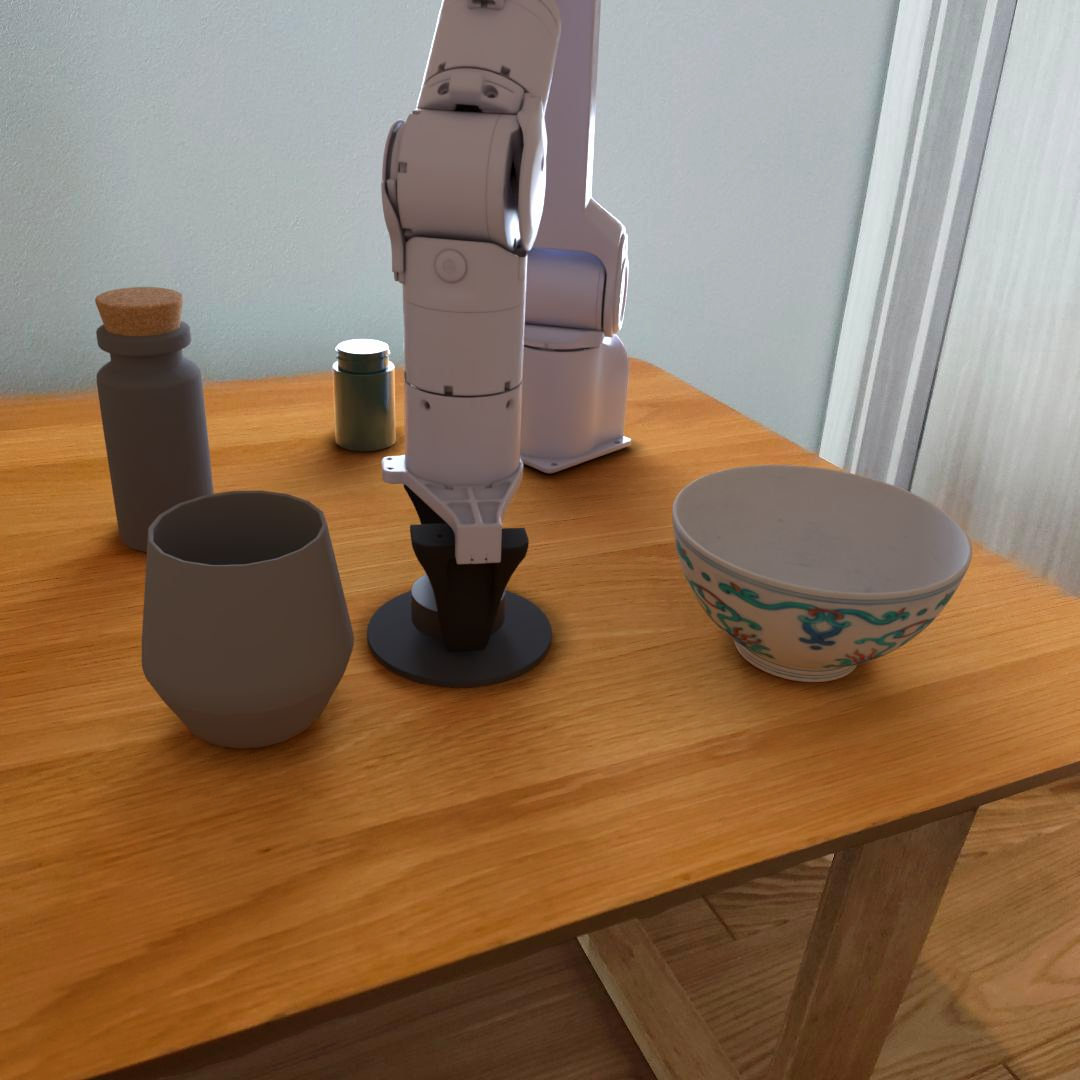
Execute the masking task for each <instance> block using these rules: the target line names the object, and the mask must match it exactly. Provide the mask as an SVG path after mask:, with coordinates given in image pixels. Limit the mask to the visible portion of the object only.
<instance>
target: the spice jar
mask: <svg viewBox="0 0 1080 1080" xmlns="http://www.w3.org/2000/svg"><path fill="white" fill-rule="evenodd" d="M389 348H390V347H389V344H387V343H386V342H383V341H381V340H378V339H369V338H357V339H349V340H345V341H341V342H340V343H337V345H336V347H334V349H335V353H336V359H337V360H336V361H335V362H334V363H333V364H332V366H331V370H332V371H331V372H332V391H333V392H332V393H333V417H334V437H335V438H334V439H335V443H336V444H337V445H338V446H339V447H340V448H343V449H344V450H345V449H346V450H349V451H354V452H376V451H382V450H386V449H387V448H390V447H391V446H393V445H394V444H395V443H396V439H397V438H396V437H397V436H396V393H395V392H396V385H395V384H396V383H395V382H396V381H395V380H396V379H395V378H396V377H395V375H396V374H395V364H394V363H393V362H392V361H390V355H391V351H390V349H389Z"/></svg>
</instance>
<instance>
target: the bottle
mask: <svg viewBox="0 0 1080 1080" xmlns="http://www.w3.org/2000/svg"><path fill="white" fill-rule="evenodd" d="M94 299H95V300H94V302H95V305H96V307H97V310H98V311H97V312H98V313H99V317H100V319H101V322H102V324H101V325H100V326H98V328H96V331H95V332H96V341H97V346H98V348H99V349H100V350H101V351H104V352H105V353H107V354H109V357H110V361H108V362H107V363H105V364H103V365H102V367H101V368H100V369H99V370H98V372H97V373H96V386H97V387H96V388H97V394H98V402H99V409H100V417H101V424H102V430H103V437H104V438H103V439H104V444H105V449H106V450H105V451H106V456H107V463H108V471H109V477H110V483H111V489H112V497H113V503H114V509H115V516H116V523H117V529H118V532H119V533H118V534H119V538H120V542H122V543H123V544H124V546H126V547H128V548H130V549H131V550H134V551H138V552H142V553H147V541H148V528H149V527H150V525H151V524H152V523H153V522H154V521H155V519H156V518H157V517H158V516H159V515H160V514H162V513H163V512H165V511H167V510H169V509H170V508H172V507H174V506H175V505H177V504H179V503H182V502H185V501H188V500H191V499H195V498H198V497H201V496H204V495H210V494H215V493H214V483H213V474H212V472H213V471H212V463H211V454H210V443H209V433H208V424H207V414H206V413H207V412H206V404H205V403H206V402H205V395H204V385H203V379H202V372H201V368H200V367H199V366H198V365H197V364H196V362H194V361H193V360H191V359H189V358H187V357H185V356H184V353H183V349H185V348H187V347H189V346H190V345H191V342H192V333H191V327H190V325H189V324H188V323H187V322H186V321H183V320H182V314H183V313H182V312H183V305H184V295H183V294H182V293H181V292H180V291H177V290H175V289H171V288H165V287H155V286H135V287H133V286H132V287H123V288H117V289H111V290H107V291H105V292H102V293H99V294H98V295H96V297H95V298H94Z"/></svg>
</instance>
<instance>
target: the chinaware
mask: <svg viewBox="0 0 1080 1080" xmlns="http://www.w3.org/2000/svg"><path fill="white" fill-rule="evenodd" d="M672 529H673V534H674V542H675V547H676V552H677V557H678V560H679V564H680V566H681V569H682V572H683V575H684V578H685V580H686V582H687V584H688V587H689V588H690V591H691V593H692V594H693V596H694V598H695V600H696V601H697V602H698V604H699V606H700V607H701V608H702V610H703V611H704V612H705V614H706V615H707V616H708V617H709V618H710V619H711V621H712V622H713V623H714V624H715V625H716V626H717V627H718V628H719V629H720V630H721V631H723V632H724V633H725V634H726V635H728V637H729V638H731V639H732V640H733V641H734V645H735V648H736V649H737V651H738V653H739V654H740V656H742V658H744V660H746V661H747V662H748V663H750V664H751V665H752V666H754V667H755V668H757V669H759V670H761V671H763V672H765V673H767V674H769V675H772V676H774V677H778V678H781V679H785V680H788V681H789V680H790V681H795V682H801V683H802V682H803V683H822V682H823V683H824V682H830V681H835V680H838V679H841V678H844V677H846V676H848V675H849V674H850V673H852V672H854V670H855V669H856V668H857V666H858V665H862V664H865V663H869V662H871V661H874V660H877V659H879V658H882V657H885V656H887V655H888V654H891V653H893V652H895V651H896V650H898V649H900V648H901V647H903V646H905V645H907V644H908V643H909V642H911V641H912V640H913V639H915V638H916V637H918V636H919V635H920V634H921V633H922V632H923V631H924V630H926V628H928V627H929V626H930V625H931V624H932V623H933V622H934V620H935V619H936V618H937V617H938V616H939V615H940V613H941V612H942V611H943V610H944V609H945V608H946V607H947V605H948V603H949V602H950V601H951V599H952V598H953V597H954V595H955V593H956V591H957V589H959V587H960V584H961V582H962V581H963V579H964V577H965V575H966V573H967V570H968V569H969V567H970V564H971V561H972V557H973V546H972V542H971V540H970V537H969V535H968V533H967V532H966V530H965V529H964V528H963V527H962V525H961V524H960V523H959V522H958V521H957V519H955V518H954V517H953V516H952V515H950V514H949V513H947V512H946V511H945V510H943V509H942V508H941V507H940V506H938V505H936V504H934V503H933V502H931V501H929V500H927V499H926V498H923V497H922V496H920V495H917V494H916V493H913V492H911V491H909V490H906V489H904V488H901V487H899V486H896V485H893V484H890V483H888V482H884V481H881V480H878V479H875V478H871V477H867V476H864V475H860V474H855V473H852V472H846V471H842V470H835V469H831V468H823V467H817V466H816V467H815V466H807V465H794V464H793V465H792V464H758V465H747V466H745V465H744V466H739V467H737V466H736V467H731V468H727V469H722V470H718V471H715V472H712V473H709V474H705V475H703V476H700V477H699V478H697V479H694V480H693V481H691V482H689V483H688V484H687V485H686V486H684V487H683V488H682V489H681V490H680V491H679V493H678V494H677V496H676V497H675V499H674V502H673V505H672Z"/></svg>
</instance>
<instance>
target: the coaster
mask: <svg viewBox="0 0 1080 1080" xmlns="http://www.w3.org/2000/svg"><path fill="white" fill-rule="evenodd" d="M366 639H367V641H366V642H367V646H368V648H369V650H370V653H371V654H372V656H373V657H374V658H375V659H376V661H378V663H380V664H381V665H382V666H383V667H384V668H386V669H387V670H389V671H391V672H392V673H394V674H395V675H398V676H400V677H402V678H405V679H408V680H411V681H413V682H416V683H421V684H424V685H428V686H429V685H430V686H437V687H444V688H476V687H484V686H491V685H495V684H499V683H503V682H506V681H509V680H512V679H515V678H517V677H520V676H522V675H524V674H525V673H527V672H529V671H531V670H533V669H534V668H535V667H536V666H538V665H539V664H540V663H541V662H542V661H543V660H544V658H546V656H547V654H548V653H549V651H550V648H551V646H552V639H553V631H552V625H551V623H550V619H549V618H548V617H547V615H546V613H545V612H544V611H543V610H542V609H541V608H540V607H539V606H537V605H536V604H535V603H534V602H532V601H531V600H529V599H527V598H526V597H523V596H521V595H519V594H517V593H514V592H512V591H509V590H506V596H505V620H504V623H503V625H502V626H501V628H500V629H499V630H498V631H496V632H495V633H494V634H492V635H491V636H490V639H489V642H488V645H487V647H486V649H484V650H472V651H454V652H449V651H447V649H446V647H445V644H444V641H442V640H438V639H434V638H432V637H429V636H427V635H425V634H423V633H422V632H420V631H419V630H418V629H417V628H416V627H415V626H414V624H413V622H412V616H411V590H408V591H406V592H404V593H403V592H402V593H401V594H399V595H397V596H394V597H393V598H391V599H389V600H388V601H386V602H384V603H383V604H382V605H381V606H379V608H377V610H376V611H375V612H374V613H373V614H372V616H371V617H370V619H369V621H368V624H367V628H366Z"/></svg>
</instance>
